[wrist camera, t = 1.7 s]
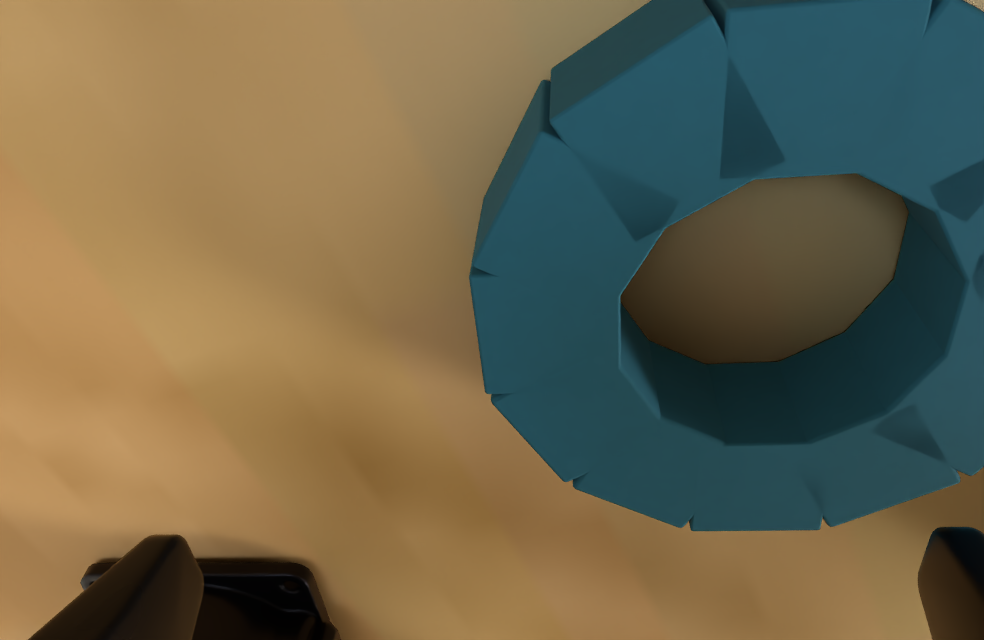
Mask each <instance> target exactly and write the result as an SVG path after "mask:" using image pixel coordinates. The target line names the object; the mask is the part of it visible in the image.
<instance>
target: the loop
mask: <svg viewBox="0 0 984 640" xmlns="http://www.w3.org/2000/svg"><path fill="white" fill-rule="evenodd" d="M852 173H856V174H858V175H861V176H863V177H865V178H867V179H869V180H871V181H873V182H875V183H877V184H879V185H881V186H883V187H885V188H887V189H889V190H891V191H893V192H895V193H897V194H899V195H901V196H902V198H903V200H904V202H905V204H906V207H907V209H908V211H909V215H908V219H907V224H906V228H905V232H904V237H903V241H902V245H901V250H900V254H899V258H898V263H897V267H896V271H895V276H894V279H893V280H892V281H891V282H890V283H889V284H888V286H887V287H886V288H885V289H884V290H883V291H882V292H881V293H880V294H879V295H878V296H877V298H876V299H875V300H874V301H873V302H872V303H871V304H870V305H869V306H868V307H867V308H866V310H865V311H864V312H863V313H862V314H861V315H860V316H859V317H858V318H857V319H856V320H855V322H854V323H853V324H852V325H851V326H850V327H849V328H848V329H847V330H846V331H845V332H844V333H842V334H840V335H837V336H835V337H833V338H831V339H828V340H826V341H824V342H822V343H819V344H817V345H815V346H813V347H810V348H808V349H806V350H804V351H801V352H799V353H797V354H795V355H792V356H790V357H788V358H786V359H783V360H781V361H779V362H757V363H727V364H703V363H701V362H699V361H696V360H694V359H692V358H689V357H687V356H684V355H682V354H680V353H677V352H675V351H673V350H670V349H668V348H665V347H663V346H661V345H658V344H656V343H654V342H651V341H649V340H648V339H647V338H646V336H645V335H644V334H643V332H642V331H641V329H640V328H639V327H638V325H637V324H636V323H635V321H634V320H633V319H632V317H631V316H630V314H629V313H628V312H627V310H626V309H625V308H624V306H623V305H622V304H621V302H620V296H621V294H622V293H623V291H624V290H625V288H626V287H627V285H628V284H629V282H630V281H631V279H632V278H633V276H634V275H635V273H636V272H637V270H638V269H639V267H640V266H641V264H642V263H643V261H644V260H645V258H646V257H647V255H648V254H649V252H650V251H651V249H652V248H653V246H654V245H655V243H656V242H657V240H658V239H659V237H660V236H661V234H662V233H663V231H664V230H665V228H667V227H669V226H670V225H672V224H674V223H676V222H678V221H680V220H681V219H683V218H685V217H687V216H689V215H691V214H692V213H694V212H696V211H698V210H700V209H701V208H703V207H705V206H707V205H709V204H711V203H712V202H714V201H716V200H718V199H720V198H721V197H723V196H725V195H727V194H729V193H731V192H732V191H734V190H736V189H738V188H740V187H742V186H743V185H745V184H747V183H749V182H751V181H752V180H754V179H771V178H787V177H803V176H819V175H836V174H852ZM469 280H470V287H471V294H472V301H473V309H474V316H475V323H476V330H477V337H478V344H479V351H480V358H481V366H482V373H483V380H484V387H485V392H486V393H487V394H491V402H492V404H493V405H494V406H495V407H496V408H497V409H498V410H499V412H500V413H501V414H502V415H503V416H504V417H505V418H506V419H507V420H508V421H509V422H510V424H511V425H512V426H513V427H514V428H515V429H516V430H517V431H518V432H519V433H520V435H521V436H522V437H523V438H524V439H525V440H526V441H527V442H528V443H529V444H530V445H531V447H532V448H533V449H534V450H535V451H536V452H537V453H538V454H539V455H540V456H541V458H542V459H543V460H544V461H545V462H546V463H547V464H548V465H549V466H550V467H551V468H552V470H553V471H554V472H555V473H556V474H557V475H558V476H559V477H560V478H561V479H562V481H564V482H568V481H570V480H573V487H574V488H575V489H577V490H580V491H582V492H585V493H588V494H590V495H593V496H596V497H598V498H601V499H604V500H606V501H609V502H612V503H614V504H617V505H620V506H622V507H625V508H628V509H630V510H633V511H636V512H638V513H641V514H644V515H646V516H649V517H652V518H654V519H657V520H660V521H662V522H665V523H668V524H670V525H673V526H676V527H678V528H682V527H684V526H685V525H686V523H687V522H688V521H689V523H690V528H691V530H692V531H772V530H819V529H820V527H821V522H822V518H823V519H824V520H825V522H826V523H827V524H828V525H829V526H830V527H834V526H837V525H840V524H842V523H845V522H848V521H851V520H854V519H857V518H860V517H863V516H865V515H868V514H871V513H874V512H877V511H880V510H883V509H886V508H888V507H891V506H894V505H897V504H900V503H903V502H906V501H909V500H912V499H914V498H917V497H920V496H923V495H926V494H929V493H932V492H935V491H937V490H940V489H943V488H946V487H949V486H952V485H955V484H958V483H959V482H960V476H959V474H958V472H957V470H958V471H960V472H962V473H965V474H967V475H969V476H972V475H974V474H976V473H977V472H978V471H979V470H981V469H982V468H983V467H984V12H983V11H982V10H980V9H978V8H976V7H974V6H973V5H971V4H969V3H967V2H966V1H964V0H651V1H650V2H649V3H647V4H646V5H644V6H643V7H641V8H640V9H638V10H637V11H635V12H634V13H632V14H631V15H629V16H628V17H627V18H625V19H624V20H622V21H621V22H619V23H618V24H616V25H615V26H613V27H612V28H610V29H609V30H608V31H606V32H605V33H603V34H602V35H600V36H599V37H597V38H596V39H594V40H593V41H591V42H590V43H588V44H587V45H586V46H584V47H583V48H581V49H580V50H578V51H577V52H575V53H574V54H572V55H571V56H569V57H568V58H567V59H565V60H564V61H562V62H561V63H559V64H558V65H556V66H555V67H553V68H552V70H551V82H550V81H547V80H542V81H541V83H540V85H539V87H538V89H537V91H536V93H535V95H534V97H533V99H532V101H531V103H530V105H529V107H528V109H527V111H526V113H525V115H524V117H523V119H522V121H521V123H520V126H519V128H518V130H517V132H516V134H515V136H514V138H513V140H512V142H511V144H510V146H509V148H508V150H507V152H506V154H505V156H504V158H503V160H502V162H501V164H500V166H499V168H498V170H497V172H496V174H495V176H494V178H493V180H492V183H491V185H490V187H489V189H488V191H487V193H486V195H485V197H484V199H483V205H482V210H481V216H480V221H479V226H478V232H477V237H476V242H475V248H474V253H473V258H472V264H471V270H470V275H469Z"/></svg>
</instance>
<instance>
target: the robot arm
mask: <svg viewBox="0 0 984 640" xmlns="http://www.w3.org/2000/svg"><path fill="white" fill-rule="evenodd" d="M80 583H81V585H82V588H83V589H84V591H83V592H82V593H81V594H80V595H79V596H78V597H77V598H75V599H74V600H73V601H72V602H71V603H70V604H68V605H67V606H66V607H65V608H64V609H63V610H62V611H60V612H59V613H58V614H57V615H56V616H55V617H54V618H52V619H51V620H50V621H49V622H48V623H47V624H45V625H44V626H43V627H42V628H41V629H40V630H39V631H37V632H36V633H35V634H34V635H33V636H32V637H31V638H29V639H28V640H341V638H340V635H339V633H338V630H337V629H336V628H335V626H334V625H333V624H332V623H331V622H330V619H329V616H328V614H327V611H326V608H325V606H324V603H323V600H322V598H321V595H320V592H319V589H318V587H317V584H316V581H315V579H314V576H313V574H312V572H311V571H310V569H308V568H307V567H305V566H304V565H301V564H298V563H291V562H258V563H197V562H196V560H195V558H194V556H193V554H192V552H191V550H190V548H189V546H188V544H187V542H186V540H185V539H184V538H183V537H182V536H180V535H151V536H148V537H147V538H145V539H144V540H142V541H141V542H140V543H139V544H137V545H136V546H135V547H134V548H133V549H132V550H131V551H129V552H128V553H127V554H126V555H125V556H124V557H123V558H121V559H120V560H119V561H118V562H117V563H97V564H92V565H91V566H89V568H88V569H87V571H86V573H85V574H84V576H83V578H82V580H81V582H80ZM918 588H919V593H920V597H921V600H922V604H923V607H924V611H925V614H926V618H927V621H928V625H929V628H930V632H931V635H932V639H933V640H984V534H983V533H982V532H981V531H979V530H977V529H975V528H971V527H940V528H937V529H935V530H934V531H933V532H932V534H931V536H930V539H929V542H928V545H927V548H926V551H925V554H924V557H923V560H922V563H921V566H920V569H919V572H918Z"/></svg>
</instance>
